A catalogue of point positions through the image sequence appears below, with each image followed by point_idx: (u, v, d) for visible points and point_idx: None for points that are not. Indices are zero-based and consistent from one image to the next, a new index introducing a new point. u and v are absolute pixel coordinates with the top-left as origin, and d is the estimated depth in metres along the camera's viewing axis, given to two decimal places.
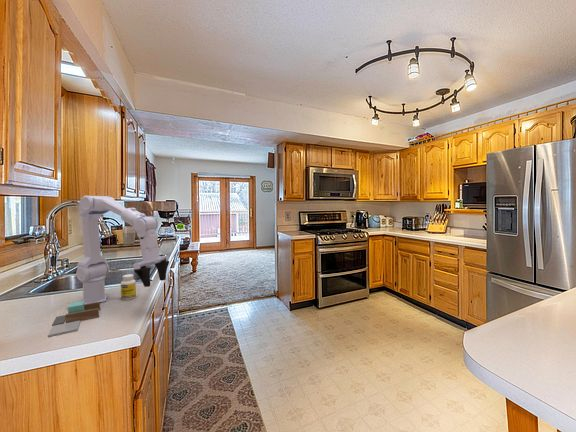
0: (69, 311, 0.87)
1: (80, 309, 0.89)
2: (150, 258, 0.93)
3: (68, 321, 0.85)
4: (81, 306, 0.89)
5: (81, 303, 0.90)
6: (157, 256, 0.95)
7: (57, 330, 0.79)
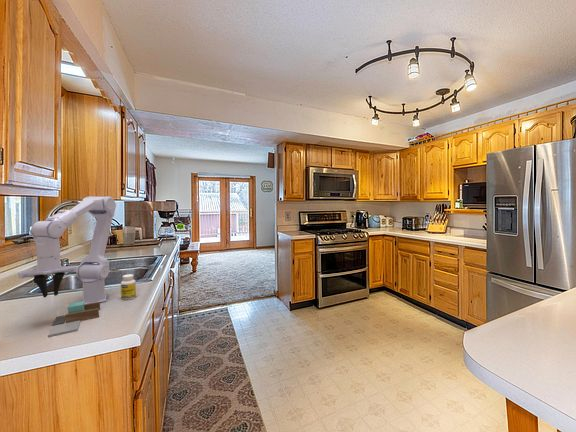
0: (69, 311, 0.87)
1: (80, 309, 0.89)
2: (39, 269, 0.82)
3: (68, 321, 0.85)
4: (81, 306, 0.89)
5: (81, 303, 0.90)
6: (48, 268, 0.83)
7: (57, 330, 0.79)
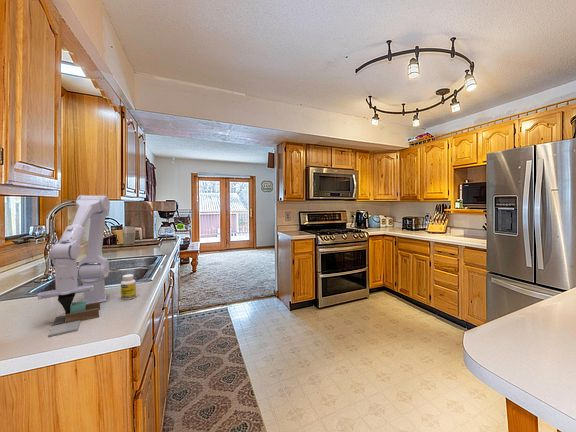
0: (71, 310, 0.87)
1: (82, 309, 0.89)
2: (57, 290, 0.85)
3: (68, 321, 0.85)
4: (84, 306, 0.89)
5: (83, 303, 0.90)
6: (66, 289, 0.85)
7: (57, 330, 0.79)
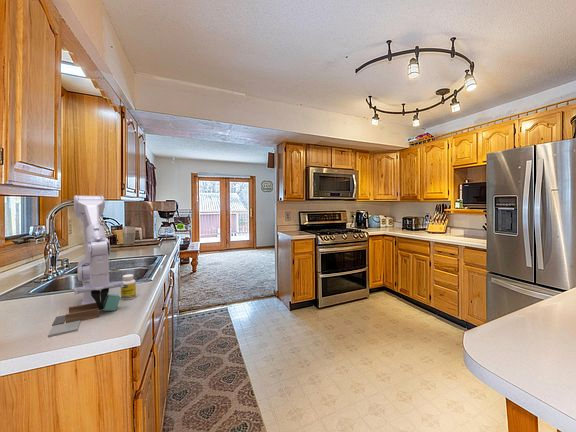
0: (107, 301, 0.94)
1: (117, 301, 0.96)
2: (92, 285, 0.90)
3: (68, 321, 0.85)
4: (118, 298, 0.96)
5: (118, 296, 0.97)
6: (100, 284, 0.91)
7: (57, 330, 0.79)
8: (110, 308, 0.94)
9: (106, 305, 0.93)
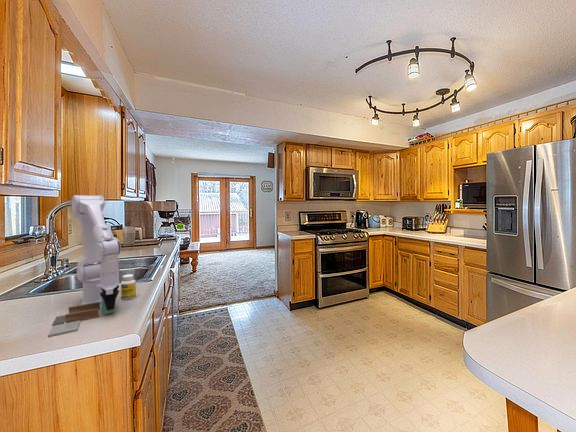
0: (102, 305, 0.92)
1: None
2: None
3: (68, 321, 0.85)
4: None
5: None
6: (100, 282, 0.93)
7: (57, 330, 0.79)
8: (108, 311, 0.93)
9: (103, 309, 0.92)
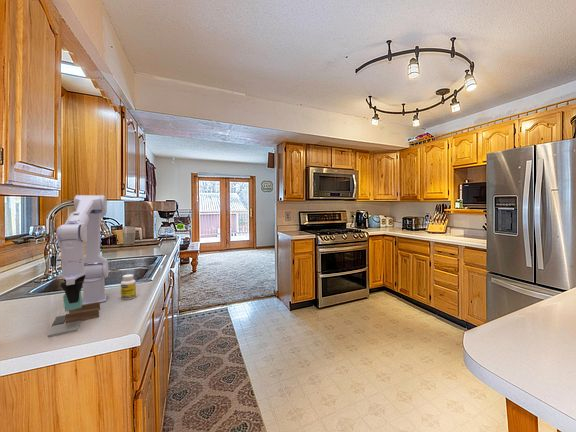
0: (65, 300, 0.81)
1: None
2: None
3: (68, 321, 0.85)
4: None
5: None
6: (62, 272, 0.81)
7: (57, 330, 0.79)
8: (72, 307, 0.82)
9: (66, 305, 0.81)
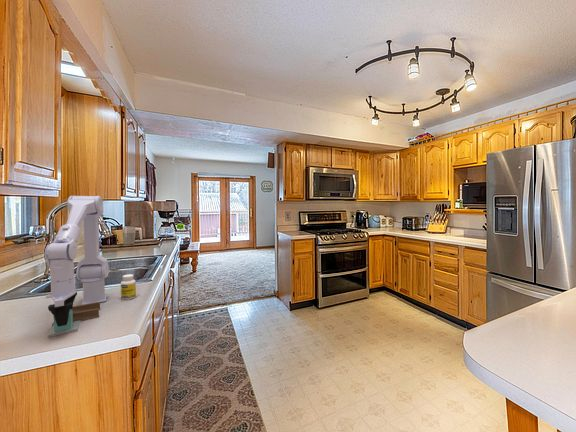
0: (55, 321, 0.78)
1: None
2: None
3: None
4: None
5: (69, 311, 0.82)
6: (51, 292, 0.79)
7: None
8: (62, 328, 0.80)
9: (55, 326, 0.79)
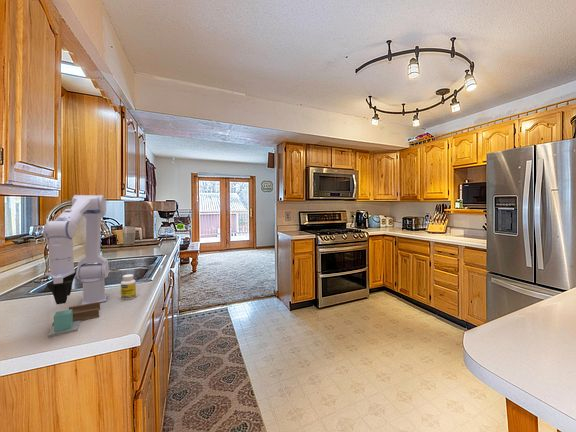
0: (55, 321, 0.78)
1: (67, 318, 0.80)
2: None
3: None
4: (68, 315, 0.80)
5: (69, 311, 0.82)
6: (50, 270, 0.79)
7: None
8: (62, 328, 0.80)
9: (55, 326, 0.79)
